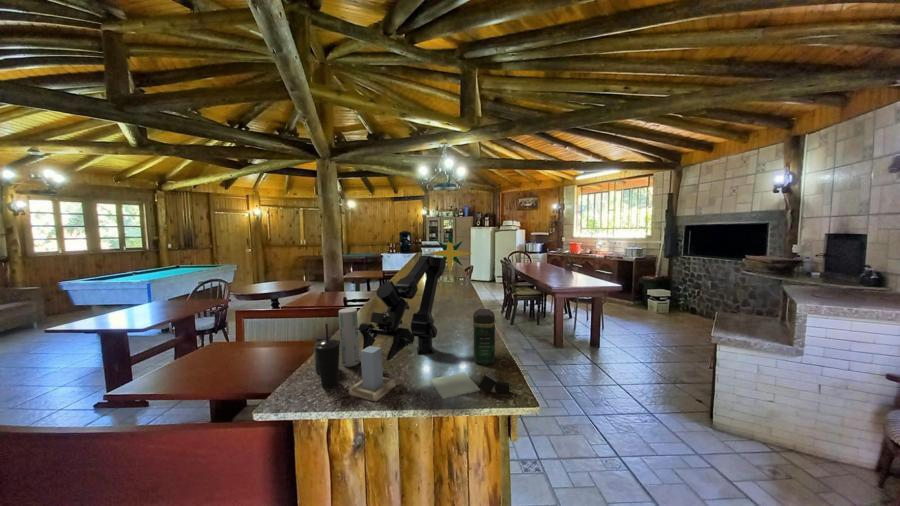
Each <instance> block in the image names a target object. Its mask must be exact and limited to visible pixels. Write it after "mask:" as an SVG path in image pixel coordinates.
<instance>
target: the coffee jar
mask: <svg viewBox="0 0 900 506" xmlns="http://www.w3.org/2000/svg"><path fill="white" fill-rule="evenodd" d="M472 318H473V361H474V363H476V364H480V365H484V366H485V365H491V364H494V362H495V360H496V320H495V318H496V317H495V312H494V311H492V310H491V309H489V308H479V309H477V310H476V311H474V313H473V315H472Z"/></svg>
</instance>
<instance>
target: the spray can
mask: <svg viewBox="0 0 900 506" xmlns="http://www.w3.org/2000/svg"><path fill="white" fill-rule="evenodd" d="M358 319H359V318H358V309H357V308H356V307H347V308H342V309H339V310H338V322H339V323H338V325H339V327H338V328H339V338H340V339H339V341H340V353H341V354H340V356H341V365H342V366H343V367H347V368H350V367H354V366H357V365H359V363H360V345H359V342H360V341H359V330H358V328H359V324H358V323H359V321H358Z"/></svg>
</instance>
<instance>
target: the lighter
mask: <svg viewBox="0 0 900 506" xmlns="http://www.w3.org/2000/svg"><path fill="white" fill-rule="evenodd" d="M495 376H496V374H495V373H494V372H488V373H484V374H483V376H482V377H481V379H480V381H479V382H478V383H477V384H476V385H477V386H478V388H480V390H482V391H483V392H485V393H487V394H488V395H489V394H491V392H492V391H493V389H494V391H495V392H496V393H498V394H502V395H503V394H504V395H505V394H506V395H508V394H509V393H510V389H511V388H510V387H511V383H510V382H505V381H501V380H497V378H495Z"/></svg>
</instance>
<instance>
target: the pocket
mask: <svg viewBox="0 0 900 506" xmlns="http://www.w3.org/2000/svg"><path fill="white" fill-rule="evenodd" d="M396 386H397V380H396V379H395V378H390V377H385V376H383V387H381V388H380V389H379V390H377V391H376V392H372V391H368V390H364V389H363V387H362V379H360V380H359V381H357V382H356V383H355V384H353V385H351V386H350V387H349V388H348V395H349V396H353V397H356V398H361V399H365V400H367V401H368V400H369V401H373V402H377V401H379V400H380V399H381V398H383V397H384V396H385V395H386V394H388V393H389V392H390V391H392V389H394V388H395V387H396Z"/></svg>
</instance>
